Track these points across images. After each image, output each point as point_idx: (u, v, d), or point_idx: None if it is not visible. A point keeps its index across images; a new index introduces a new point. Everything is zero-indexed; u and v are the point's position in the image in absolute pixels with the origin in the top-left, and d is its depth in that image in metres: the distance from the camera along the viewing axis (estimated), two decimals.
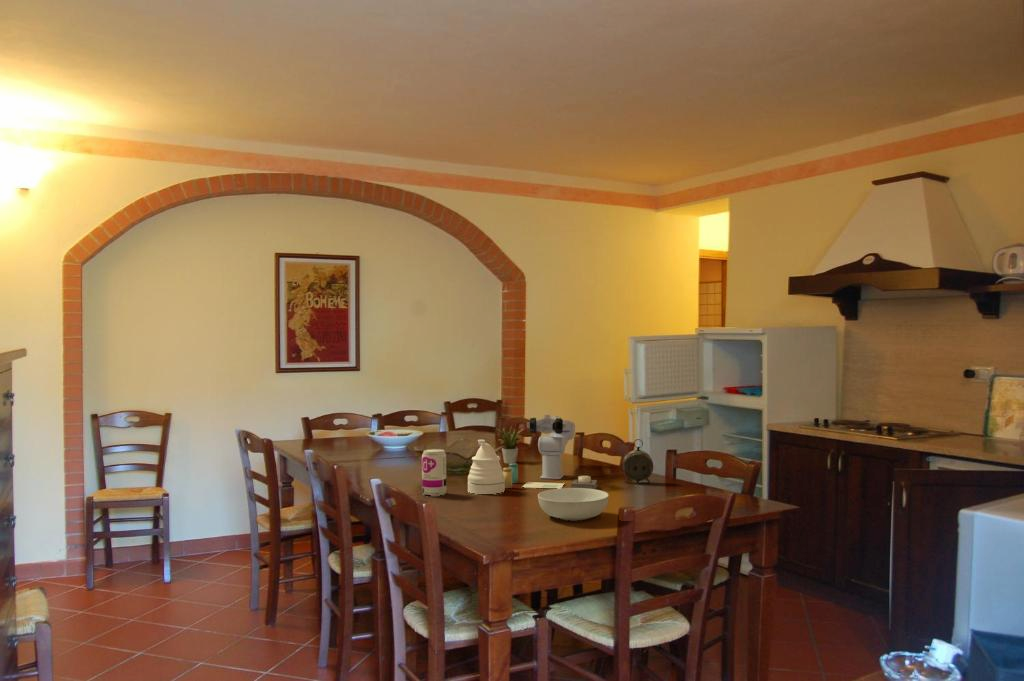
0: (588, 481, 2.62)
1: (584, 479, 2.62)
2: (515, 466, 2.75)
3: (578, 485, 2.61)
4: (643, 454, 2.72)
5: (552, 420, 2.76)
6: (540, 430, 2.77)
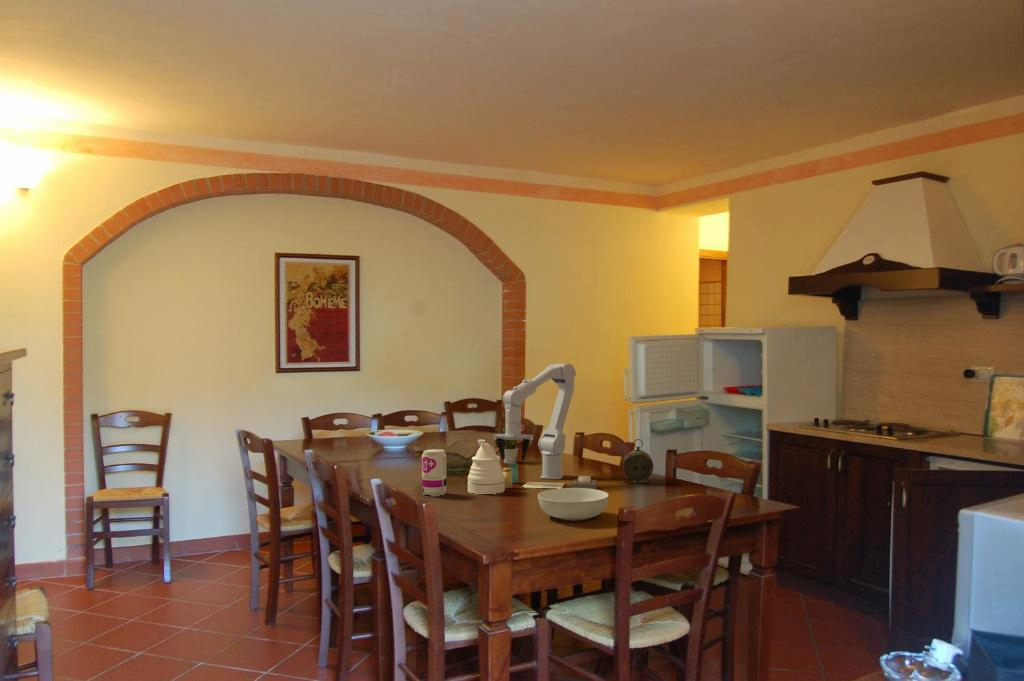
0: (588, 481, 2.62)
1: (584, 479, 2.62)
2: (515, 466, 2.75)
3: (578, 485, 2.61)
4: (643, 454, 2.72)
5: (517, 437, 2.74)
6: None
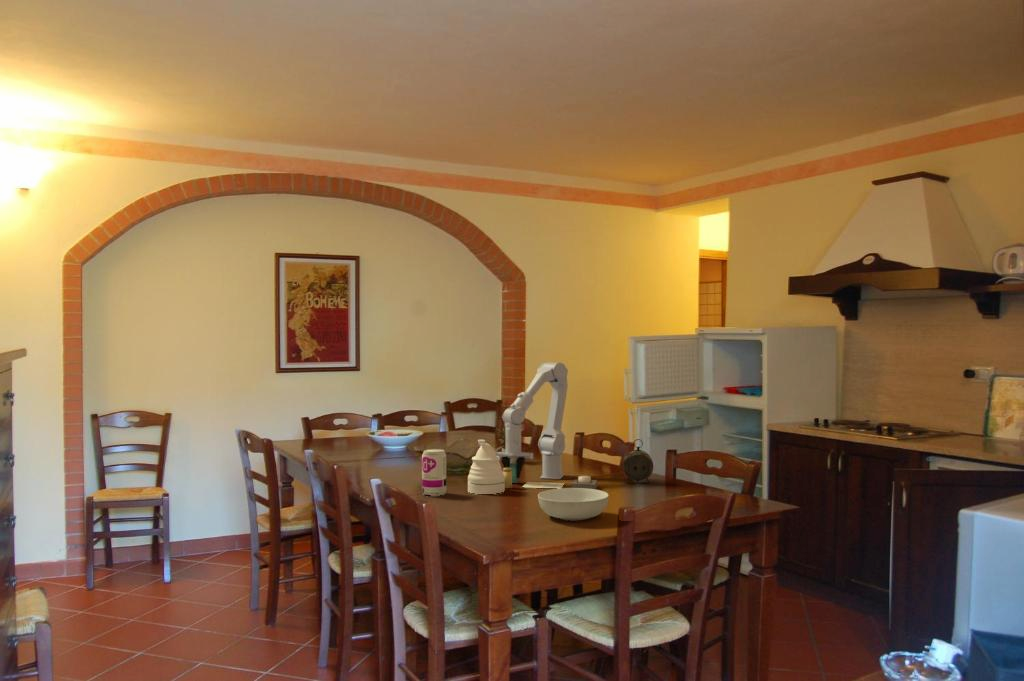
0: (588, 481, 2.62)
1: (584, 479, 2.62)
2: (515, 466, 2.75)
3: (578, 485, 2.61)
4: (643, 454, 2.72)
5: (517, 455, 2.74)
6: None
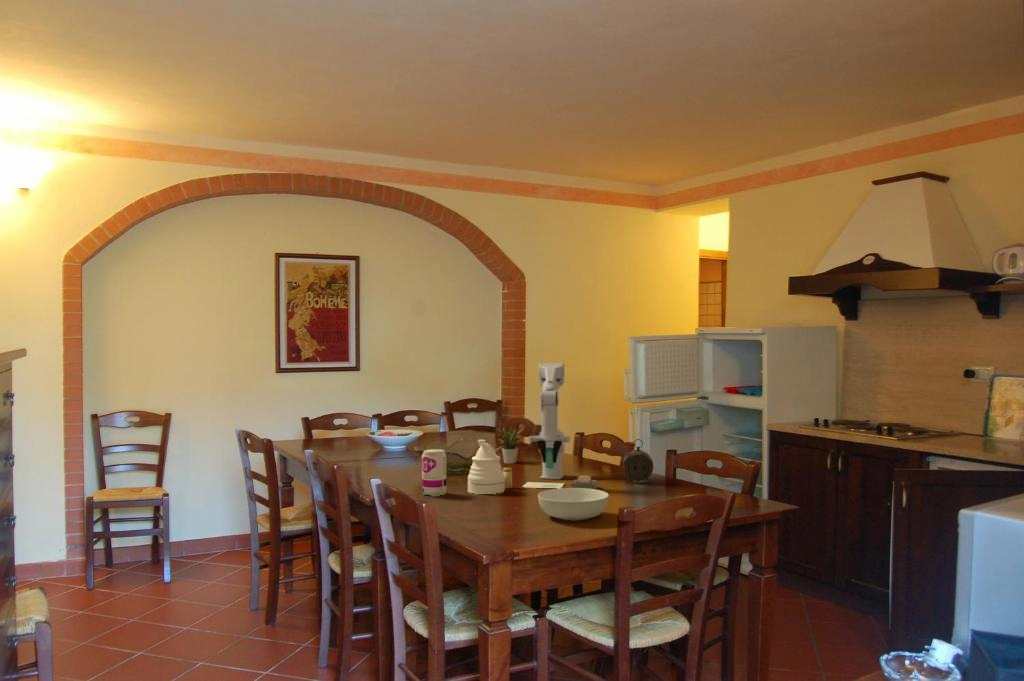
0: (588, 481, 2.62)
1: (584, 479, 2.62)
2: (552, 450, 2.66)
3: (578, 485, 2.61)
4: (643, 454, 2.72)
5: (554, 439, 2.65)
6: None
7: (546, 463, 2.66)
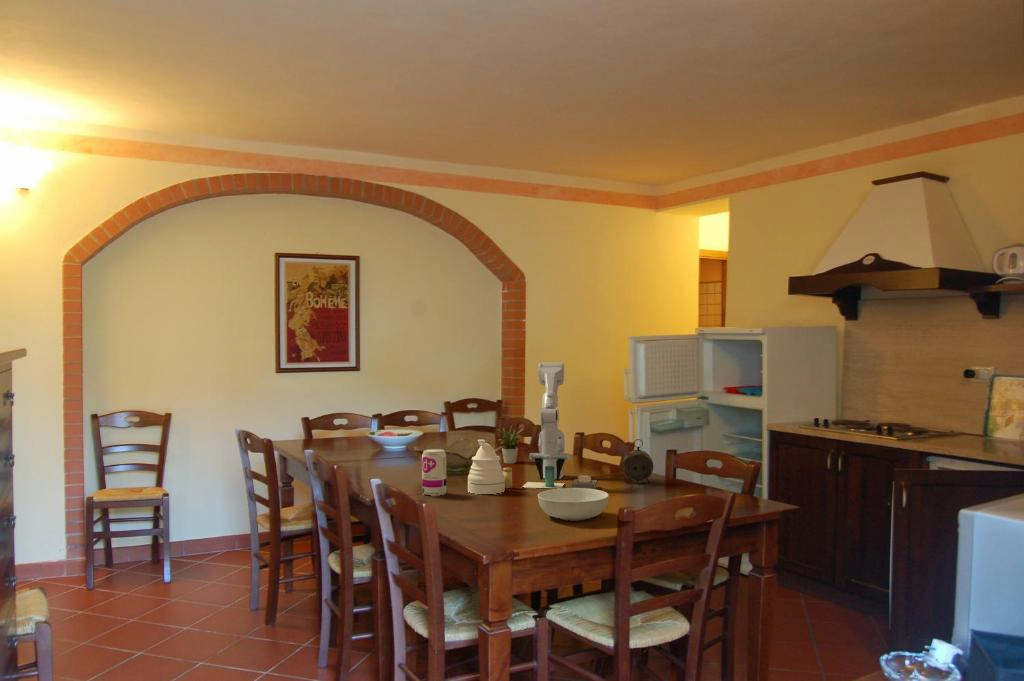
0: (588, 481, 2.62)
1: (584, 479, 2.62)
2: (552, 469, 2.66)
3: (578, 485, 2.61)
4: (643, 454, 2.72)
5: (554, 457, 2.65)
6: None
7: (546, 482, 2.66)
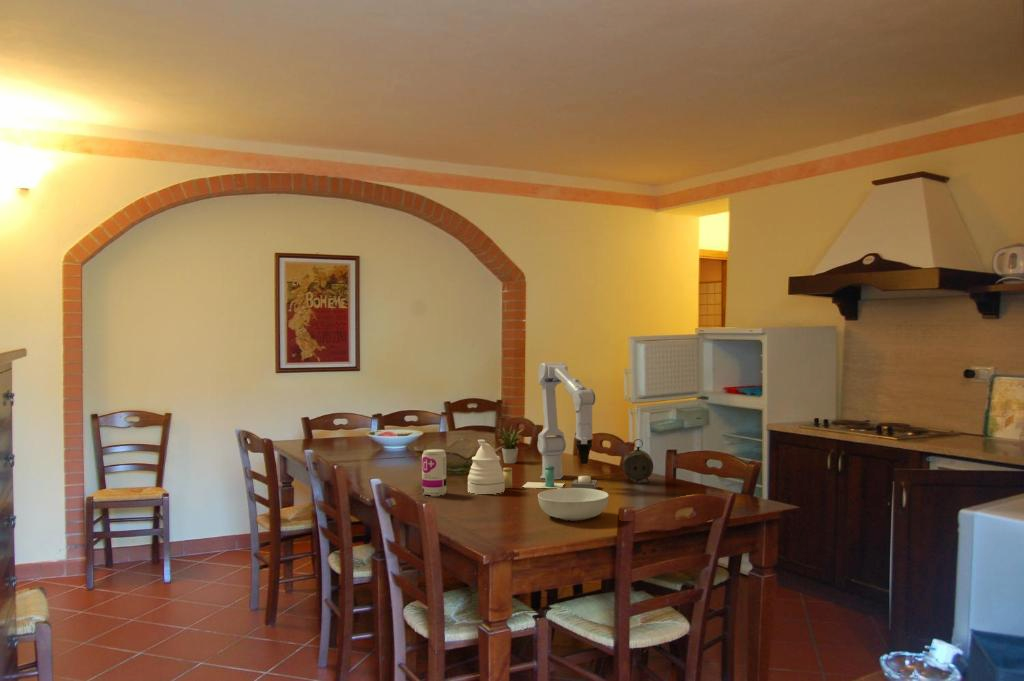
0: (588, 481, 2.62)
1: (584, 479, 2.62)
2: (552, 469, 2.66)
3: (578, 485, 2.61)
4: (643, 454, 2.72)
5: (578, 438, 2.62)
6: None
7: (546, 481, 2.66)
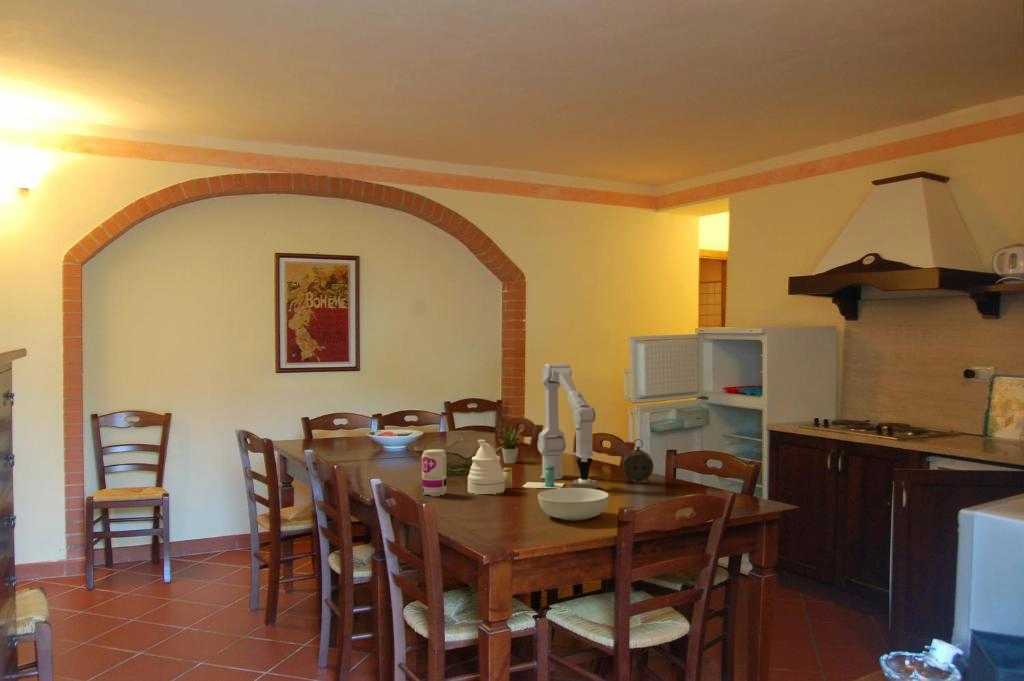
0: None
1: (584, 482, 2.62)
2: (552, 469, 2.66)
3: (578, 485, 2.61)
4: (643, 454, 2.72)
5: None
6: None
7: (546, 481, 2.66)
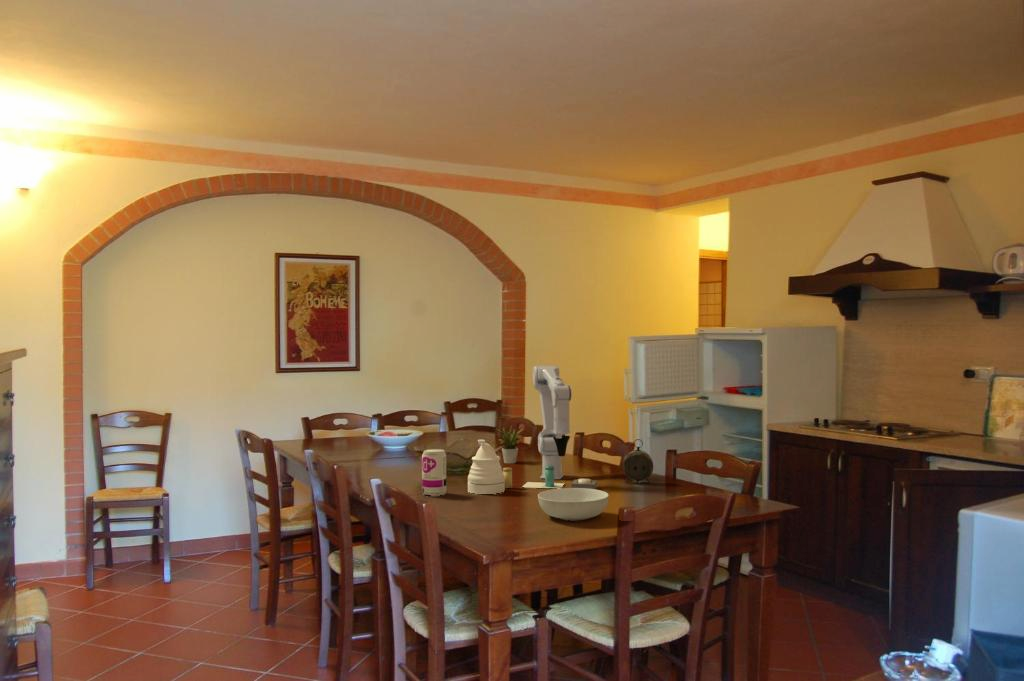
0: None
1: (584, 482, 2.62)
2: (551, 469, 2.66)
3: (578, 485, 2.61)
4: (643, 454, 2.72)
5: (555, 433, 2.70)
6: None
7: (546, 481, 2.66)
